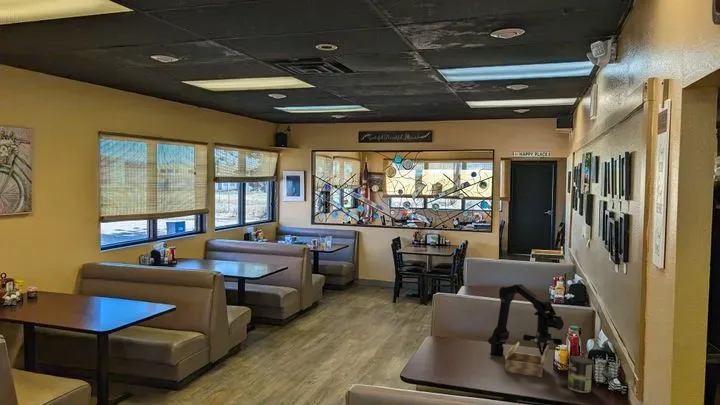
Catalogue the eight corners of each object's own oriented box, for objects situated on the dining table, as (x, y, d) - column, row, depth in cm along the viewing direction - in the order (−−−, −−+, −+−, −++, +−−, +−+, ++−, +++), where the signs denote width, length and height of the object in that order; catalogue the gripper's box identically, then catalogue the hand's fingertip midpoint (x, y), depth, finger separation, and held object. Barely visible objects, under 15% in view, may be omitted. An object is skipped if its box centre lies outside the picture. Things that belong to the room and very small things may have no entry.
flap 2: (548, 350, 265) (548, 350, 265) (548, 342, 279) (549, 342, 279) (542, 364, 266) (543, 365, 266) (543, 356, 280) (544, 356, 280)
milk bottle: (579, 361, 293) (581, 325, 293) (580, 366, 286) (582, 329, 285) (564, 359, 296) (566, 324, 295) (565, 363, 288) (567, 327, 288)
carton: (504, 371, 272) (505, 359, 272) (507, 362, 287) (508, 351, 287) (541, 377, 266) (542, 365, 266) (542, 367, 281) (543, 356, 281)
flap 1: (519, 342, 284) (519, 341, 285) (517, 349, 270) (517, 349, 270) (508, 351, 287) (507, 350, 287) (505, 359, 273) (505, 358, 273)
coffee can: (574, 392, 247) (575, 362, 247) (563, 384, 257) (565, 355, 257) (595, 392, 248) (597, 363, 248) (584, 384, 258) (585, 355, 258)
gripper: (523, 326, 269) (521, 357, 269) (562, 331, 262) (561, 362, 263) (524, 321, 279) (523, 351, 280) (562, 326, 273) (560, 356, 273)
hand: (541, 355), depth 273 cm, fingers closed
